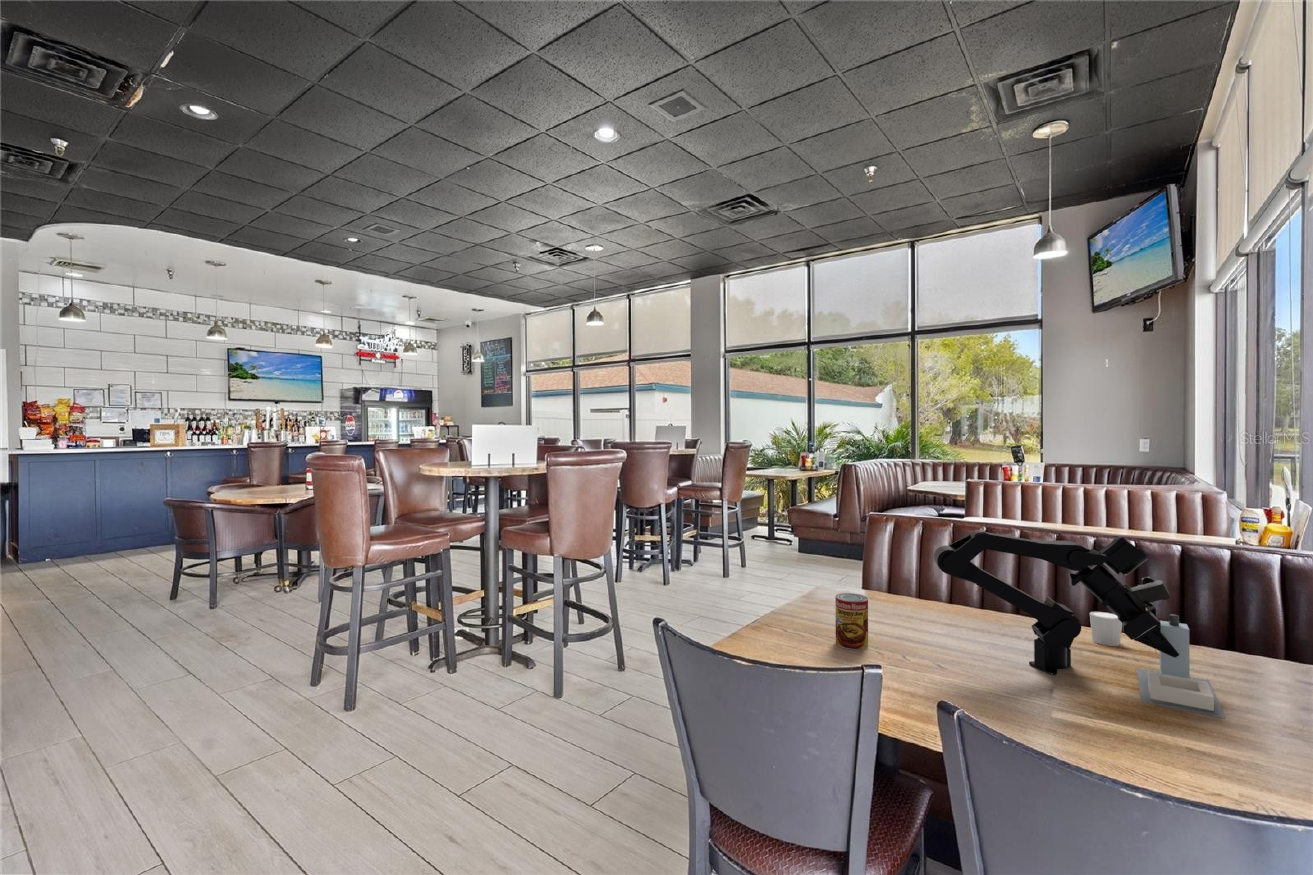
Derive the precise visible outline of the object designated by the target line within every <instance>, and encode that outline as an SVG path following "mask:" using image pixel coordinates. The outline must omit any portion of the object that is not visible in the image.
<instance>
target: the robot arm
mask: <svg viewBox="0 0 1313 875" xmlns="http://www.w3.org/2000/svg"><path fill="white" fill-rule="evenodd" d="M985 550H989V551H994V552H998V553H1004V554H1011V555H1017V556H1022V557H1027V558H1034V559H1039V560H1042V561H1046V562H1048V563H1050V564H1054V565H1055V566H1059V567H1061V568H1065V569H1067V570H1071V571H1073V572H1074V571H1075V573H1072V572H1069V573H1068V574H1067V575H1068V580H1069V581H1068V585H1070V586H1071V587H1073V586H1076V585H1077V584H1078V583H1081V584H1082V585H1083V587H1085V588H1086V590H1088V591H1089V592H1090V593H1091V594H1092V595H1093V596H1094V597H1096V598H1097V599H1098V600H1099V601H1100V605H1102V606H1103V607H1104V608H1108V609H1109V610H1110V611H1111V612H1112V613H1113V614H1115V615H1116V616H1118V620H1120V621H1121V622H1122V631H1123V633H1124V635H1125V636H1126V637H1128V638H1129V639H1130V640H1132V641H1133V640H1134V641H1135V642H1138V643H1141V644H1143V645H1146V646H1147V647H1150V648H1152V649H1154V650H1156V651H1159V652H1160V651H1161V652H1163V653H1165V654H1167V655H1170V656H1172V657H1174V658H1176V657H1177V656H1179V653H1178V652H1177V651H1176V649H1175V648H1174V647H1173V646H1172V645H1171V643H1170V642H1169V641H1168V640H1167V638H1166V637H1165V636H1164V635H1163V634H1162V632H1161V623H1160V621H1161V619H1158V618H1157V617H1158V616H1157V609H1156V606H1155V605H1154V602H1158V601H1166V600H1170V599H1172V596H1171V594H1170V592H1169V590H1168V589H1167V587H1166V585H1165V583H1164V581H1163V580H1162V579H1161V580H1160V579H1156V580H1155V579H1154V578H1152V577H1151V576H1146V577H1142V578H1141V584H1138V585H1137V586H1133V587H1131V586H1129V585H1128V584H1127V583H1124V582H1123V583H1122V582H1121V581H1120V580H1119V579H1118V578H1117V577H1115V576H1114V575H1113V574H1115V575H1116V576H1119V575H1120V574H1122V576H1128V575H1129V574H1130V573H1132V572H1133V571H1135V570H1136V569H1138V567H1140V566H1141V565H1142V564H1143V563H1145V562H1147V561H1148V560H1149V557H1148V556H1147V554H1146V553H1144V552H1143V550H1141V549H1140V548H1138V547H1136V546H1135V545H1133V543H1131V542H1129V541H1128V540H1127V539H1126V538H1124V537H1123V536H1121V535H1117V536H1115V537H1114V539H1112V541H1111V542H1110V543H1109V544H1107V545H1106V546H1104V547H1103V548H1102V549H1101V550H1100V551H1097V550H1095V549H1093V548H1091V549H1090V548H1086V547H1085V546H1083V545H1081V544H1078V543H1077V542H1074V541H1070V540H1034V539H1027V538H1022V537H1016V536H1011V535H1006V534H999V533H993V532H987V531H984V530H981V529H976V530H973V531H971V533H970V534H968V535H966V536H965V537H962V538H960V539H957V540H955V541H954V542H952V543H950V544H949V545H942V546H939V547H938V548H937V549H936V550H935V551H934V553H933V560H934V564H936V566H937V567H938V568H939V570H940V571H941V572H942V573H944V574H946V575H948V576H951V577H954V578H957V579H960V580H964V581H967V582H970V583H973V584H975V585H976V586H978V587H980V588H982V589H983V590H985V591H986V592H989V593H991V594H993V595H994V596H996V597H998V598H1000V599H1001V600H1003V601H1005V602H1007V603H1008V604H1010V605H1012V606H1013V607H1016V608H1018V609H1019V610H1021V611H1023V612H1025V613H1026V614H1028V615H1030V616H1031V617H1033V618H1034V619H1035V620H1037V621H1035V622H1034V623H1032V625H1031V630H1032V631H1033V633H1034V635H1035V636H1037V638H1036V639H1033V650H1034V651H1033V661H1029V662H1028V664H1029V665H1030V666H1033V667H1035V668H1037V669H1039V670H1041V671H1043V672H1045V673H1047V674H1049V675H1057V673H1058V670H1065V669H1067V668H1070V667H1071V666H1072V657H1071V656H1072V649H1071V646H1072V644H1073V642H1074V639H1075V638H1077V637H1078V636H1079V635H1080V634H1081V632H1082V623H1081V621H1080V619H1079V618H1078V617H1076V616H1075V612H1074V611H1073V610H1072V609H1070V608H1069V607H1067V606H1066V605H1065V604H1063V603H1062V604H1061V603H1058V602H1056V601H1055V600H1053V599H1052V598H1050V596H1046V597H1045V600H1041V599H1038V598H1035V597H1033V596H1032V595H1030V594H1028V593H1026V592H1024V591H1023V590H1021V589H1019V588H1017V587H1015V586H1014V585H1013V584H1009V583H1008V582H1006V581H1004V580H1003V579H1001V578H999V577H997V576H995V575H994V574H991V573H990V572H989V571H986V570H985V569H982V568H981V567H979V566H978V565H976V564H975V563H974V562H973V561H972V560H974V558H976V557H977V556H978V555H979V554H981V553H982V552H983V551H985ZM1103 565H1104V566H1105V567H1106V568H1105V567H1104V566H1103ZM1109 570H1110V571H1111V572H1112V573H1111V572H1110V571H1109ZM1148 607H1149V609H1148Z"/></svg>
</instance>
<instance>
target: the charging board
mask: <svg viewBox="0 0 1313 875" xmlns="http://www.w3.org/2000/svg"><path fill="white" fill-rule="evenodd" d="M1135 669H1136V675H1137V681H1138V682H1137V683H1138V689H1139V696H1140V702H1141V703H1143V704H1148V705H1155V706H1159V707H1164V708H1169V709H1174V710H1178V711H1182V712H1183V711H1184V712H1188V713H1194V714H1199V715H1204V716H1208V717H1214V718H1219V719H1224V720H1227V717H1226V715H1225V713H1224V711H1223V708H1222V707H1221V704H1220V701H1219V699H1218V697H1217V694H1216V693H1215V690H1214V688H1213V685H1212V683H1211V682H1210V679H1205V678H1200V677H1193V676H1190V679H1195V680H1200V681H1206V682H1207V683H1208V685H1209V688H1210V690H1211V692H1212V694H1213V697H1214V714H1213V713H1208V712H1203V711H1198V710H1193V709H1188V708H1183V707H1178V706H1173V705H1168V704H1163V703H1158V702H1153V701H1151V699H1150V694H1149V688H1148V671H1149V672H1155V673H1160V670H1159V671H1158V670H1153V669H1146V668H1142V667H1136V668H1135Z"/></svg>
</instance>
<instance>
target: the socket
mask: <svg viewBox="0 0 1313 875" xmlns="http://www.w3.org/2000/svg"><path fill="white" fill-rule="evenodd" d="M1148 688H1149V694H1150V699H1151V701H1153V702H1158V703H1163V704H1168V705H1173V706H1178V707H1183V708H1188V709H1193V710H1198V711H1203V712H1208V713H1213V714H1214V697H1213V694H1212V692H1211V690H1210V688H1209V685H1208V683H1207V682H1206V681H1200V680H1195V679H1189V678H1183V677H1178V676H1172V675H1166V674H1160V673H1155V672H1149V671H1148Z"/></svg>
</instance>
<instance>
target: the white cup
mask: <svg viewBox="0 0 1313 875" xmlns="http://www.w3.org/2000/svg"><path fill="white" fill-rule="evenodd" d="M1089 618H1090V619H1089V622H1090V629H1091V636H1092V637H1091V638H1092V641H1093V643H1096V644H1098V643H1099V645H1103V646H1108V647H1109V646H1110V647H1118V646H1119V647H1120V645H1121V638H1122V631H1123V623H1122V622H1121V621H1120V620H1118V616H1116V615H1115V614H1114V613H1113V612H1112V613H1111V612H1105V611H1090V612H1089Z"/></svg>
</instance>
